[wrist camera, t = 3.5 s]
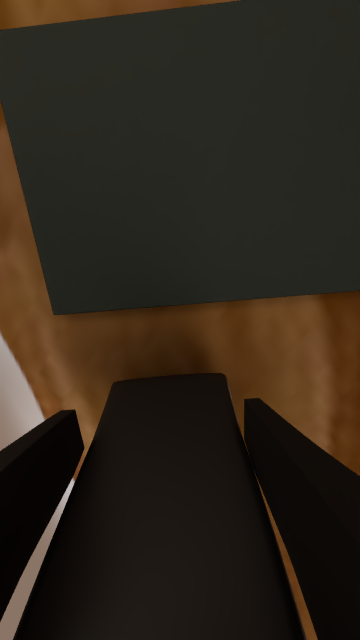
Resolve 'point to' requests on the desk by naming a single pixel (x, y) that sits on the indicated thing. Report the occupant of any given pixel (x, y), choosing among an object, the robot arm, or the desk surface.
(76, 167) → the mat
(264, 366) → the desk surface
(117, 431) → the battery charger
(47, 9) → the desk surface
